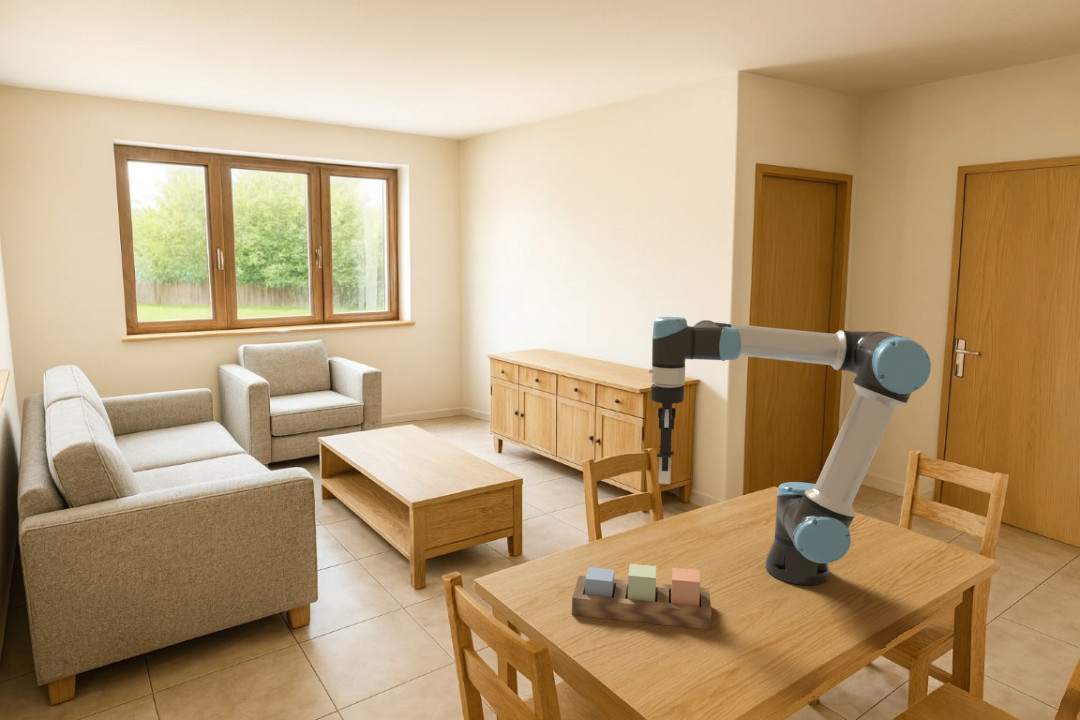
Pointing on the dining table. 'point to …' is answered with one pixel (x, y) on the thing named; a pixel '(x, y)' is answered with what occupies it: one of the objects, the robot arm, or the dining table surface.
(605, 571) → the pale blue-grey cube
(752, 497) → the dining table surface
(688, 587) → the salmon pink cube
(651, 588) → the pastel lime cube
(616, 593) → the wooden cube holder tray
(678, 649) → the dining table surface
